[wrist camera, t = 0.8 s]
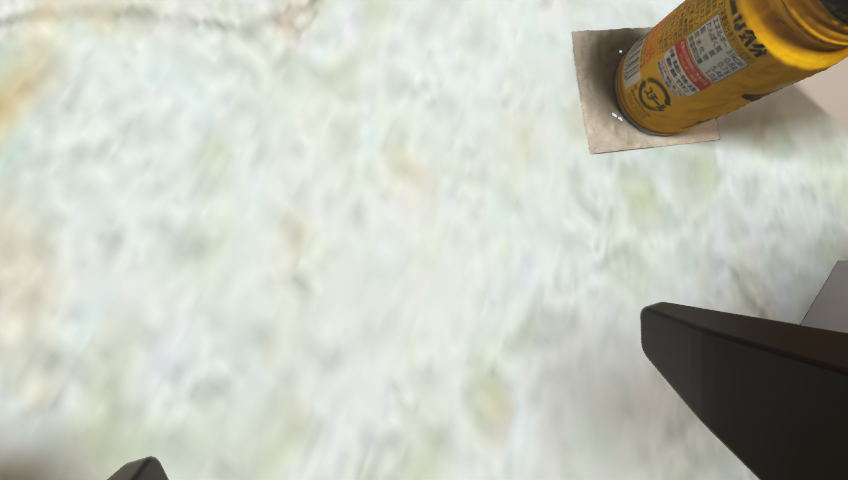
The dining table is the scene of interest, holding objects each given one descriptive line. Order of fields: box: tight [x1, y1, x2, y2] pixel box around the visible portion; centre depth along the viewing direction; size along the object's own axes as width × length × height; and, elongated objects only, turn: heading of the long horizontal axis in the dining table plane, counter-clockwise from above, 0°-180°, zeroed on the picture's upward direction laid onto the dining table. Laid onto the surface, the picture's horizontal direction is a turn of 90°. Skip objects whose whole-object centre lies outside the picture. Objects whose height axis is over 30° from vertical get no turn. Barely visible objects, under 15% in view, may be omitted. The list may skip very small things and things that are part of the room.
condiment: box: [572, 0, 848, 154], centre depth 20 cm, size 7×8×12 cm
